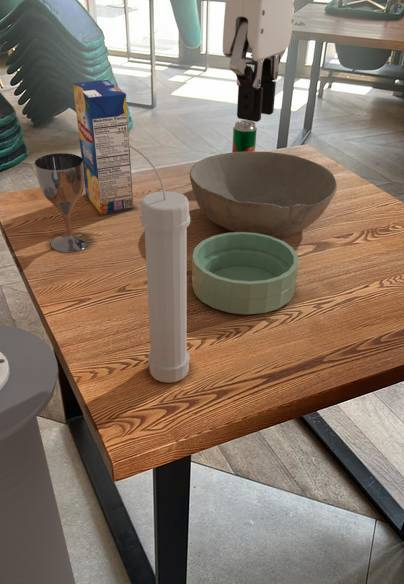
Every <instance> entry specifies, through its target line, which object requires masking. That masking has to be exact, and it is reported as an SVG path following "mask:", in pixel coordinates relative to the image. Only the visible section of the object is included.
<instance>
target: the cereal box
mask: <svg viewBox="0 0 404 584" xmlns="http://www.w3.org/2000/svg"><path fill="white" fill-rule="evenodd" d="M72 88H73V96H74V106H75V112H76V121H77V129H78V130H77V131H78V138H79V139H78V140H79V146H80V147H79V148H80V157H81V158H82V159H83V165H84V191H85V195H86V196H87V198H88V199H89V200H90V202H91V203H92V205H93V206H94V207H95V209H96V210H97V211H98V213H99V214H100V215H106V214H112V213H118V212H124V211H129V210H133V209H134V197H133V182H132V181H133V180H132V165H131V150H130V147H129V146H130V133H129V119H128V117H129V115H128V106H127V105H128V103H127V102H128V101H127V93H126V92H125V91H123V90H122V89H121V88H119V87H117V86H116V85H115V84H114V83H112V82H111V81H110V80H108V79H103V80H93V81H82V82H72Z"/></svg>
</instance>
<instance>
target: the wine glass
mask: <svg viewBox="0 0 404 584" xmlns="http://www.w3.org/2000/svg"><path fill="white" fill-rule="evenodd" d="M34 168H35V173H36V178H37V182H38V185H39V187H40V190H41V192H42V194H43V196H44V197H45V198H46V200H47V201H49V202H50V203H51V204H52V205H53V206H54V207H56V208H57V209H58V210H59V212H60V213H61V215H62V217H63V220H64V224H65V229H66V233H65V234H61V235H58V236H56V237H55V238H53V239H52V240H51V241H50V246H51V248H52V249H53V250H55V251H58V252H61V253H73V252H78V251H81V250H84V249H86V248H87V247H89V246H90V244H91V239H90V237H88V236H86V235H85V234H81V233H72V228H71V227H72V226H71V213H72V210H73V208H74V206H75V205H76V204H77V202H78V201H79V200H80V199H81V197H82V195H83V191H84V189H85V182H84V165H83V159H82V157H81V155H77V154H74V153H68V152H67V153H64V152H62V153H61V152H59V153H49V154H46V155H43V156H40V157H38V158H36V160H35V161H34Z"/></svg>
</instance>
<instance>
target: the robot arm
mask: <svg viewBox="0 0 404 584" xmlns="http://www.w3.org/2000/svg"><path fill="white" fill-rule="evenodd" d="M224 5H225V6H224V17H223V28H222V29H223V32H222V53H223V55H224V57H226V58H229V59H230V60H229V70H230V71H231V72H232V73H233V74H235V76H236V85H237V87H238V88H237V107H236V108H237V109H236V117H237V118H238V119H239V120H247V121H252V122H254V123H258V122H260V121H261V119H262V115H270V116H271V115H272V114H273V113H274V109H275V100H276V99H275V97H276V88H277V80H278V77H279V65H280V63H281V60H282V57H283V55H284V54H286V53H285V52H286V49H288V47H289V46H290V44H291V40H292V33H293V25H294V15H295V0H225V3H224ZM248 53H250V56H249V57H248V56H247V54H248ZM252 66H253V67H252ZM9 375H10V368H9V365H8V361H7V359H6V357H5V356H4V355H3V354H2V353H1V352H0V390H1V389H2V388H3V387H4V386H5V384H6V382H7V381H8V378H9Z"/></svg>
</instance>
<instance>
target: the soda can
mask: <svg viewBox="0 0 404 584" xmlns="http://www.w3.org/2000/svg"><path fill="white" fill-rule="evenodd" d="M232 129H233V130H232V145H231V146H232V147H231V149H232V151H231V153H233V152H249V151H255V152H256V143H257V132H258V131H257V127H256V122H254V121H249V120H244V119H240V120H238V121H235V123H234V126H233V128H232Z"/></svg>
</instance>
